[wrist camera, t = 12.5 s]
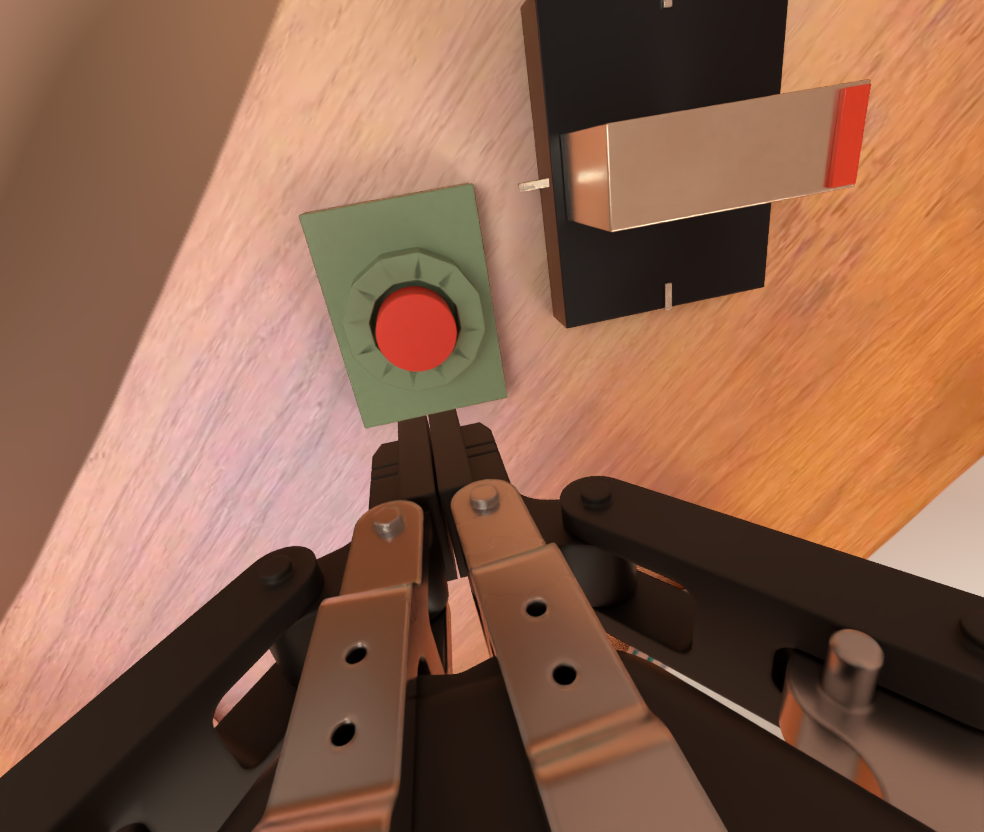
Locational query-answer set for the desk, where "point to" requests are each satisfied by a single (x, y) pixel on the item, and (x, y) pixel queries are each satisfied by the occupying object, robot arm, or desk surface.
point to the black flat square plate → (634, 94)
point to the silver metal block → (714, 157)
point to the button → (415, 329)
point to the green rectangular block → (402, 263)
